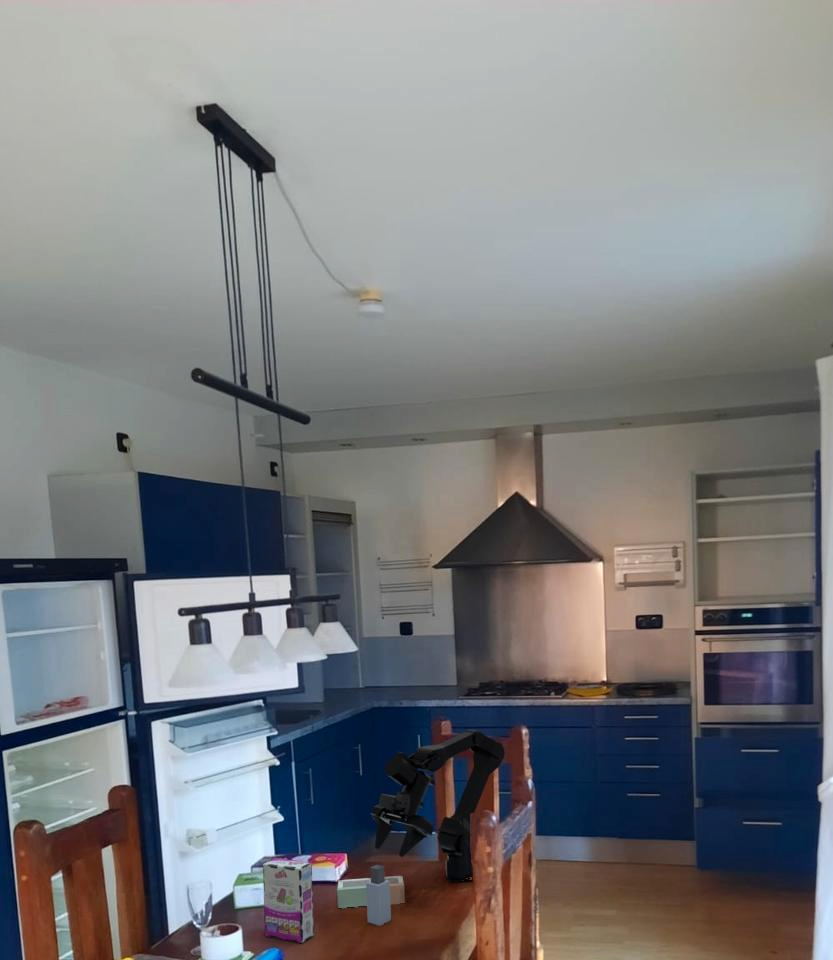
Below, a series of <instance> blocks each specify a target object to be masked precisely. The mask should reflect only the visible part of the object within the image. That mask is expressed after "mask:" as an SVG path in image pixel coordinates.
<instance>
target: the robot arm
mask: <svg viewBox="0 0 833 960" xmlns="http://www.w3.org/2000/svg"><path fill="white" fill-rule="evenodd" d="M468 750H470V751H471V752H472V753H473V754H472V763H473V768H472V770H471V772H470V775H469V777H468V780H467V782H466V785H465V786H464V789H463V791H462V795H461V797H460V799H459V801H458V804H457V806H456V809H455V811H454V813H453V814H452V815H451V816H450V817H448V816H444V817H443V818H442V822H441V825H440V826H439V828H438V829H437V831H438V834H437V840H438V844H439V846H440V850H441V852H442V853H443V854H446V855H447V856H446V857H447V858H446V859H445V871H446V872H445V874H446V878H447V879H448V880H449V883H458V882H459V881H462V880H469V879H470V878H469V877H472V881H471V882H473V881H474V880H473V878H474V877H473V865H472V864H473V862H472V863H471V860H472V858H471V853H470V840H471V838H470V824H471V822H470V814H471V813H474V814H475V812H476V809H477V808H478V805H479V802H480V799H481V798H482V795H483V792H484V791H485V787H486V785H487V783H488V779H489V778H490V775H492V773H493V772H495V771H496V770H497V769H498V768H499V767H500V765H501V763H502V762H503V759H504V758H505V754H506V753H505V752H506V751H505V749H504V746H503V744H502V743H501V742H498V741H496V740H495V739H493V738H491V737H489V736H486V735H485V734H484V733H483V732H481V731H480V730H476V729H474V730H473V729H466V730H464V731H463V732H462V733H460V734H458V735H455V736H453V737H451V738H449V739H447V740H444V741H443V742H441V743H438V744H433V745H425V746H424V745H423V746H420V747H417V748H416V749H415V750H414V753H412V754H410V755H409V756H407V754H405V752H403V751H397V753H396V755H394V756H392V757H391V758H390V759H389V760H388V761H387V762H386V763H385V767H384V768H385V769H384V772H385V774H386V775H387V776H388V777H389V778H391V779H392V780H393V781H395V782H396V783H397V784H398V785H400V786H403V788H402V791H400V790H398V791H397V792H396V793H395V794H396V795H391V794H384V793H381V794H380V799H379V804H376V805H374V806H373V807H372V808H371V812H370V815H372V819H373V820H374V821H375V825H376V829H375V830H376V831H375V832H376V835H375V841H374V842H375V844H374V849H376V850H379V849H380V848H381V847H382V846H383V845H384V843H385V841H386V839H387V838H388V836H389V835H390V834H391V832H392V830H393V829H394V827H393V825H394V824H395V823H400V824H401V825H402V824H403V825H405V832H406V833H405V836H404V839H403V842H402V844H401V847H400V850H399V854H398V856H399V857H401V858H403V857H404V856H405V855H406V854H408V852H410V851H411V850H412V849H413V848H414V847H415V846H416V845H418V844H419V843H420V842H421V841H422V840H424V839H427V838H428V836H430V837H431V836H433V833H434V830H435V828H434V823H432V822H431V821H430V820H428V819H427V818H426V817H424V816H423V815H418V811H419V809H420V808H424V806H425V803H424V802H423V799H424V796H425V795H426V793H427V790H428V787H429V786H433V787H435V786H436V781H435V779H434V775H433V774H430V773H426V772H431V773H436V772H438V771H440V770H441V769H442V768H443V767H444V766H445V765H446V764H447V761H448V760H450V759H452V758H453V757H455V756H457V755H459V754H461V753H463V752H466V751H468ZM424 771H426V772H424ZM466 878H468V879H466ZM462 882H463V881H462Z"/></svg>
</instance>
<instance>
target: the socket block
mask: <svg viewBox="0 0 833 960" xmlns="http://www.w3.org/2000/svg"><path fill="white" fill-rule="evenodd" d="M385 880H387V881H389V882H390V906H393V904H394V905H401V904H400V903H405V904H406V901H405V900H406V899H405V898H406V896H405V895H406V894H405V882H404V880H403V875H394V876H393V875H392V876H385ZM370 881H371V877H369V878H368V877H365V878H354V879H353V878H352V879H342V880H341V879H338V882H337V890H336V891H337V892H336V893H337V909H338V908H342V909H348V908H347V907H355V908H359V907H358V906H367V891H366V883H367V882H370Z"/></svg>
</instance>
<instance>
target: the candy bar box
mask: <svg viewBox="0 0 833 960" xmlns="http://www.w3.org/2000/svg"><path fill="white" fill-rule="evenodd" d="M312 866H313V863H312V862H309V861H308V862H307V861H301V860H292V859H285V858H277V857H275V858H272V859H270V860H268V861H266V862H264V863H263V864H262V872H263V873H262V874H263V877H262V879H263V912H264V913H263V915H264V918H263V919H264V920H263V921H264V936H265V937H268V938H272V939H278V940H282V941H283V940H284V941H288V942H294V943H300V944H303V943H305V942H307V941H308V940H309V939H311V938H312V937H314V936H315V932H314V931H315V930H314V929H315V926H314V896H313V867H312Z"/></svg>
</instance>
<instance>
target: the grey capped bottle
mask: <svg viewBox="0 0 833 960" xmlns="http://www.w3.org/2000/svg"><path fill="white" fill-rule="evenodd" d="M369 870H370V878H371V881H370V882H367V883H366V891H367V907H366V913H367V914H366V915H367V923H370V924H372V925H374V926H375V925H376V926H379V927H380V926H382V925H385V924H387V923H388V922H390V921H391V920H392V914H391V913H392V912H391V910H392V908H391V905H390V882H389V881H387V880H385V877H386V876H385V866H384V865H380V864H376V865H372V866H371V867H370V868H369ZM384 923H385V924H384Z"/></svg>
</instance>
